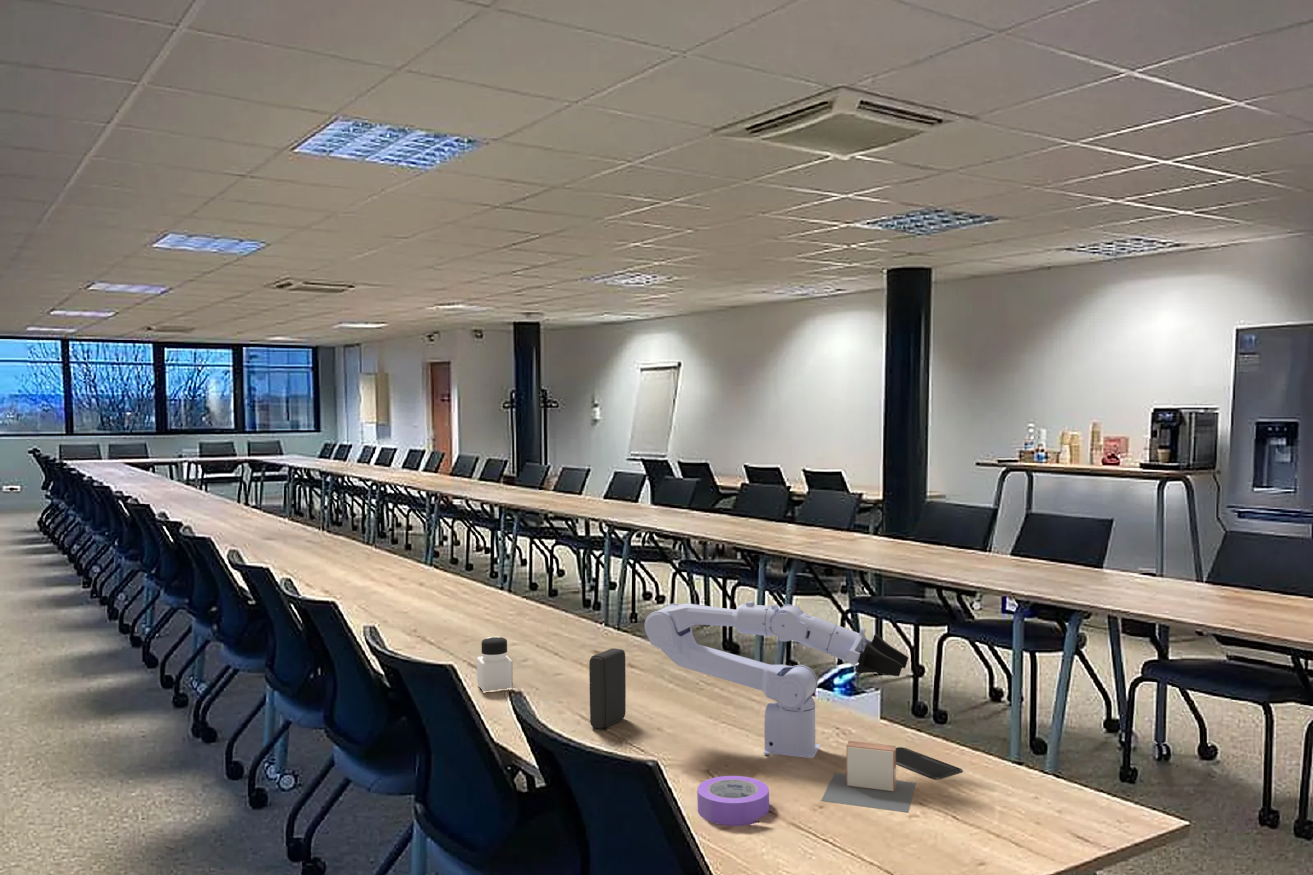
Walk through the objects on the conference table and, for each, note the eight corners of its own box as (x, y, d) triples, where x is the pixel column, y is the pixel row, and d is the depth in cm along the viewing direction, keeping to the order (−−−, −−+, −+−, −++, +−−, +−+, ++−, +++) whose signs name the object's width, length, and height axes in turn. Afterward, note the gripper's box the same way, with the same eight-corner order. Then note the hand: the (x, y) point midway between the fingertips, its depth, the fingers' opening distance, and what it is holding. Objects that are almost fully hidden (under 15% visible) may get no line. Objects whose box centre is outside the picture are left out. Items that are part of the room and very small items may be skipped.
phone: (936, 779, 164) (872, 754, 176) (936, 786, 164) (872, 760, 176) (965, 770, 168) (901, 746, 180) (965, 776, 168) (901, 751, 180)
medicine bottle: (512, 690, 223) (512, 640, 222) (482, 694, 220) (482, 643, 220) (506, 682, 229) (505, 633, 229) (477, 686, 227) (476, 636, 226)
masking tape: (682, 812, 153) (682, 788, 153) (729, 791, 161) (729, 769, 161) (737, 834, 145) (737, 809, 145) (784, 811, 153) (783, 788, 153)
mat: (820, 804, 155) (820, 800, 155) (834, 776, 167) (834, 772, 167) (908, 816, 150) (908, 812, 150) (915, 786, 162) (915, 782, 162)
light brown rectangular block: (846, 786, 161) (846, 745, 161) (848, 780, 164) (848, 740, 164) (894, 792, 158) (894, 751, 158) (896, 786, 161) (895, 746, 161)
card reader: (612, 715, 203) (611, 646, 203) (627, 718, 201) (627, 648, 201) (587, 727, 195) (587, 655, 195) (603, 730, 193) (603, 658, 193)
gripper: (830, 625, 170) (904, 653, 164) (846, 614, 183) (915, 639, 178) (819, 662, 170) (892, 690, 165) (836, 648, 184) (904, 674, 178)
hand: (903, 666), depth 171 cm, fingers open, 7 cm apart
